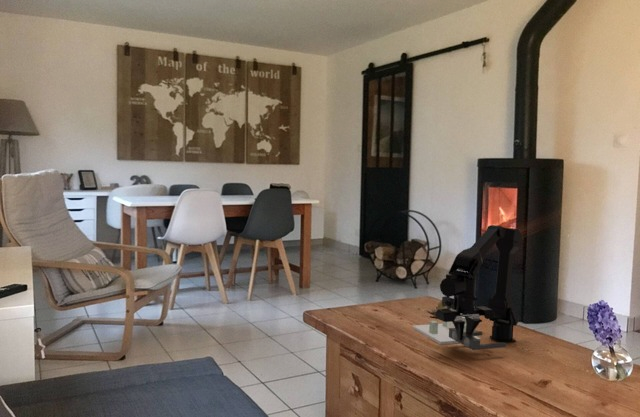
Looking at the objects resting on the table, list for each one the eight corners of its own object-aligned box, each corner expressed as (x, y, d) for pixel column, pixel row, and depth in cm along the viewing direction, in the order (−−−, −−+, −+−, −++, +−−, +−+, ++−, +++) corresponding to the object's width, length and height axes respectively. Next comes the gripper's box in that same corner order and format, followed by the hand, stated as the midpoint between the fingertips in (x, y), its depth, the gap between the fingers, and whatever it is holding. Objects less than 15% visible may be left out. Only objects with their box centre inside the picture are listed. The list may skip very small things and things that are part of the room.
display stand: (449, 325, 208) (450, 307, 207) (480, 341, 189) (481, 321, 188) (412, 328, 203) (413, 309, 202) (440, 344, 184) (441, 324, 183)
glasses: (480, 334, 186) (480, 325, 186) (506, 347, 173) (506, 337, 173) (448, 336, 182) (448, 328, 182) (472, 350, 169) (473, 340, 169)
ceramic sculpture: (461, 301, 210) (426, 297, 219) (461, 323, 211) (426, 318, 219) (471, 296, 219) (436, 293, 228) (471, 318, 219) (436, 314, 228)
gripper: (475, 286, 185) (473, 330, 186) (427, 288, 179) (425, 334, 180) (496, 293, 175) (493, 340, 176) (445, 296, 169) (443, 345, 170)
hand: (463, 339), depth 176 cm, fingers closed on glasses, 2 cm apart
